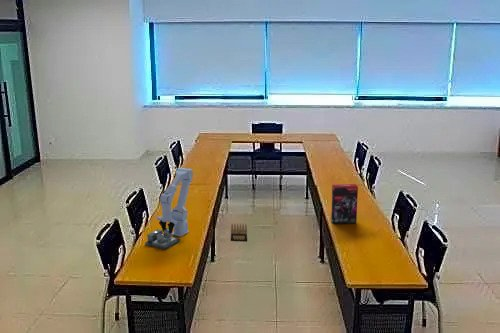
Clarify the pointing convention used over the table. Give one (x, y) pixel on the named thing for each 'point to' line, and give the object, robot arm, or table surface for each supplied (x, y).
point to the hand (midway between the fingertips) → (167, 232)
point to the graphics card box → (344, 203)
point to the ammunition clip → (239, 233)
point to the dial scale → (167, 243)
